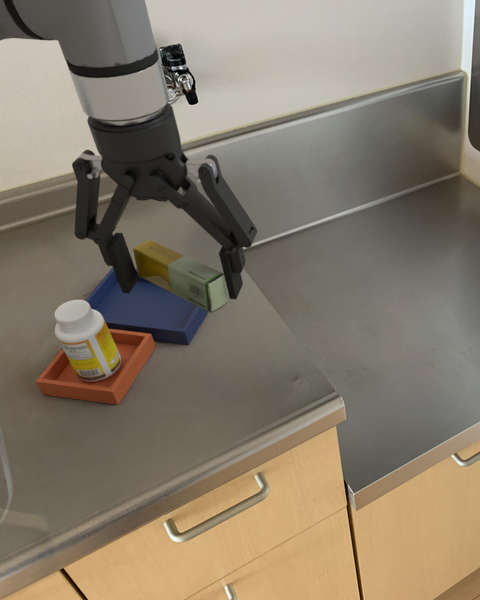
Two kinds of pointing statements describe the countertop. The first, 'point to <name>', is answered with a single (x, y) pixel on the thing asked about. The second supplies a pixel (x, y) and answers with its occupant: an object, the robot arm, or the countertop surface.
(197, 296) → the medication box
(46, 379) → the terracotta tray
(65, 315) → the supplement bottle
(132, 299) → the navy tray
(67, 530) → the countertop surface
